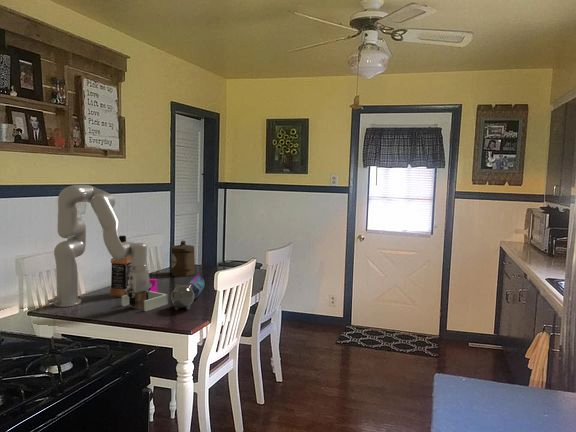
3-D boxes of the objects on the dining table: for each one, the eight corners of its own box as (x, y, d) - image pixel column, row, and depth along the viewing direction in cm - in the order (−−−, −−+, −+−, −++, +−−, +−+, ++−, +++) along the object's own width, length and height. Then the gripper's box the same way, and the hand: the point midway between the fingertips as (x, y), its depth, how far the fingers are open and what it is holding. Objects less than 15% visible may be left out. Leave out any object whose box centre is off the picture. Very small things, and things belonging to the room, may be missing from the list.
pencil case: (198, 301, 253) (199, 283, 252) (181, 300, 253) (182, 282, 252) (205, 291, 273) (205, 274, 272) (189, 291, 273) (189, 274, 272)
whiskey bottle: (119, 291, 268) (119, 234, 265) (135, 292, 266) (135, 235, 263) (109, 295, 258) (108, 236, 255) (125, 297, 256) (125, 237, 253)
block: (138, 309, 236) (138, 293, 235) (131, 307, 238) (131, 291, 237) (146, 306, 240) (146, 290, 239) (139, 305, 242) (139, 289, 242)
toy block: (149, 300, 251) (149, 285, 251) (138, 299, 252) (138, 285, 252) (161, 292, 266) (161, 279, 265) (150, 292, 267) (150, 278, 266)
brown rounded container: (172, 271, 323) (173, 239, 321) (195, 271, 325) (195, 239, 323) (169, 276, 308) (170, 242, 306) (193, 276, 310) (193, 242, 308)
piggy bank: (195, 303, 247) (195, 281, 246) (193, 312, 232) (193, 289, 231) (172, 304, 246) (173, 281, 245) (169, 312, 231) (169, 289, 230)
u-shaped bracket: (145, 311, 232) (145, 301, 232) (121, 305, 240) (121, 296, 239) (167, 304, 245) (168, 294, 245) (144, 299, 253) (144, 289, 253)
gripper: (130, 272, 228) (130, 308, 229) (157, 266, 243) (157, 300, 245) (119, 270, 231) (119, 306, 233) (146, 264, 247) (146, 298, 248)
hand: (138, 303), depth 239 cm, fingers open, 8 cm apart
